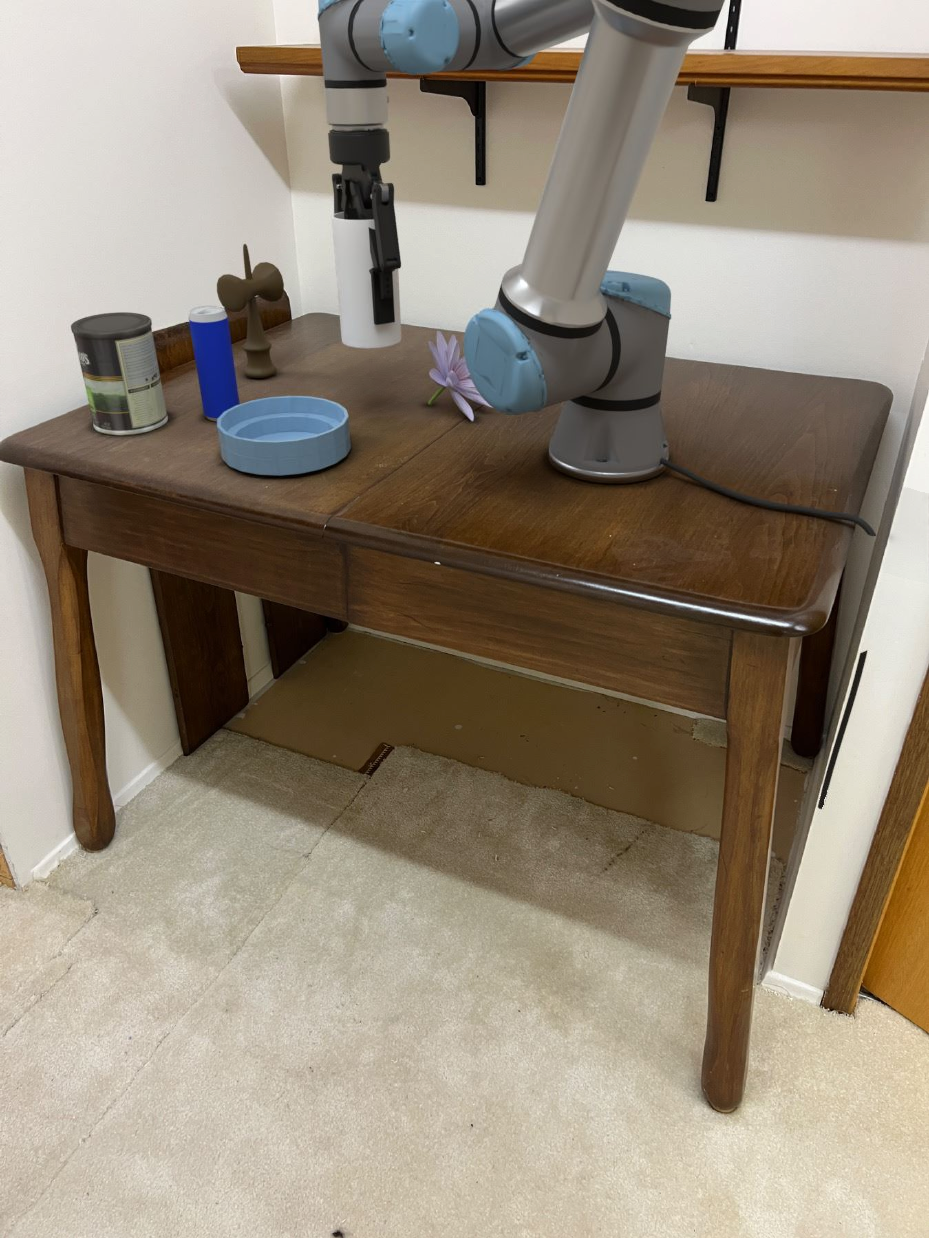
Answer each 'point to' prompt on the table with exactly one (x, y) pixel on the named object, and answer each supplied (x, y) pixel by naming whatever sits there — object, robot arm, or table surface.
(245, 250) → the kendama
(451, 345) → the water lily
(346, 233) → the cup
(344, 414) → the bowl
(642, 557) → the table surface
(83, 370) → the coffee can
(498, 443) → the table surface
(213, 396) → the beverage can
